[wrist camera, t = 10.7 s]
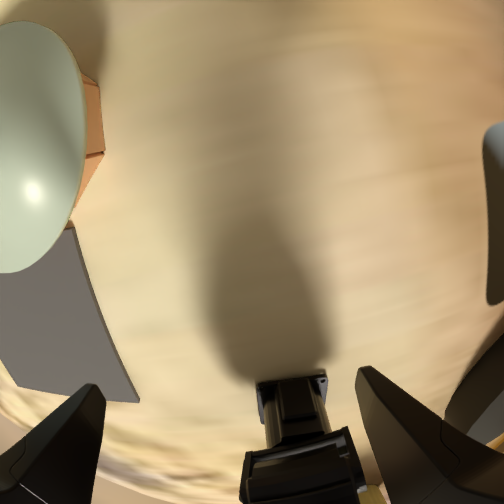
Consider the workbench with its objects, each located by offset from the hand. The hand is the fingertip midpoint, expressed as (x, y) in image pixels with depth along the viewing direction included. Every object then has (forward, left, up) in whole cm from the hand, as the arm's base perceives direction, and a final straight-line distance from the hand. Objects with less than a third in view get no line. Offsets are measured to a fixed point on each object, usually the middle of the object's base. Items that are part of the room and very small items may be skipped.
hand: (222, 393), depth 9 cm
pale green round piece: (+10, +13, -6) cm, 18 cm away
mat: (-6, +20, -12) cm, 24 cm away
